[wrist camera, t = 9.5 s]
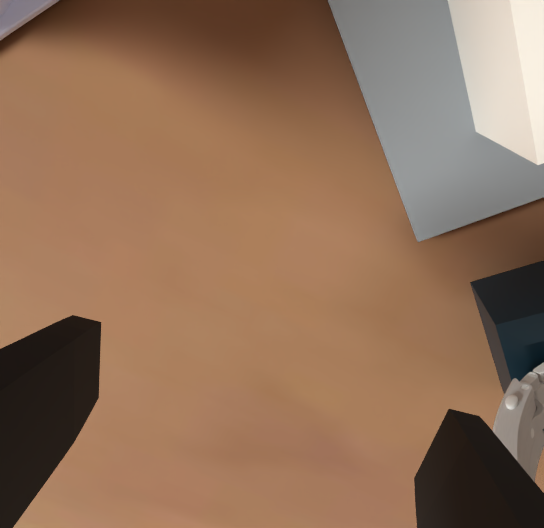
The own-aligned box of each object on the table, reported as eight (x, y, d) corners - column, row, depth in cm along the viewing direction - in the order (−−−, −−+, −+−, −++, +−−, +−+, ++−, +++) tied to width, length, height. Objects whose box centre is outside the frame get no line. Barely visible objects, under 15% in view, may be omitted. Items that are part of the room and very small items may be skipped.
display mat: (296, -84, 13) (293, -92, 13) (735, -357, 10) (765, -388, 9) (414, 234, 17) (417, 242, 16) (767, 106, 14) (790, 108, 13)
